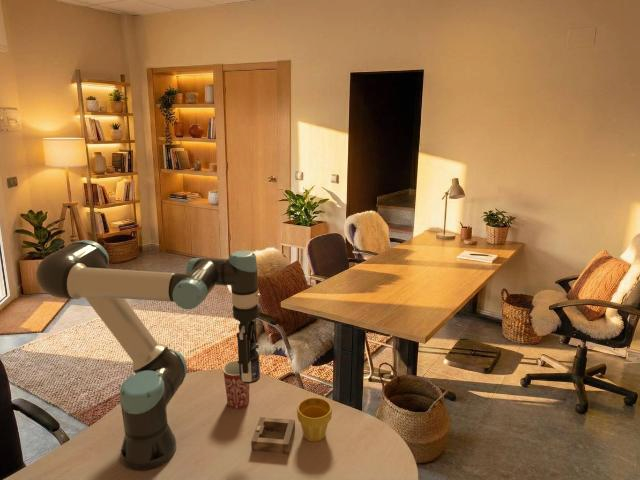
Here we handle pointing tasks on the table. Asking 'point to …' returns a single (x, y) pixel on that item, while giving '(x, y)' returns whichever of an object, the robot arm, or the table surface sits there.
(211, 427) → the table surface
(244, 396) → the mug
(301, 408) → the plant pot
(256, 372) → the pill bottle
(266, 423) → the wooden tray
